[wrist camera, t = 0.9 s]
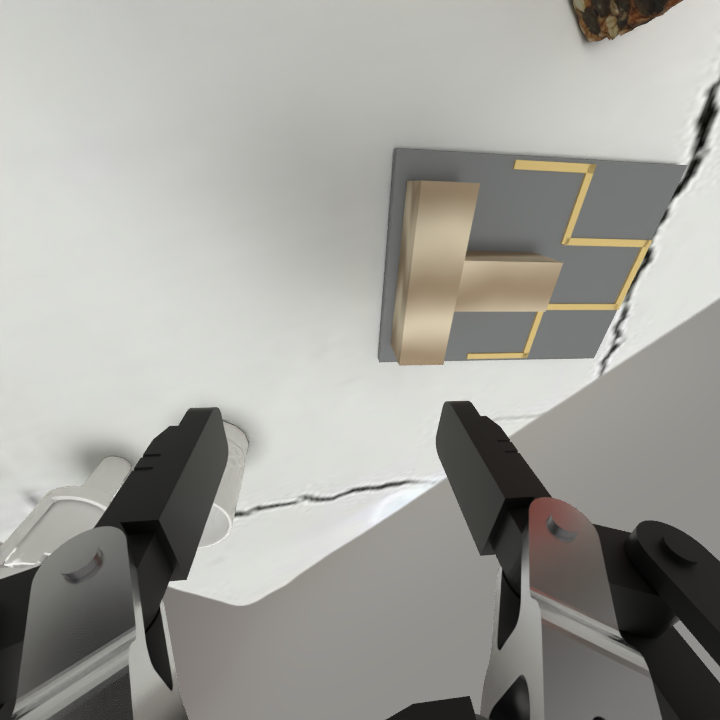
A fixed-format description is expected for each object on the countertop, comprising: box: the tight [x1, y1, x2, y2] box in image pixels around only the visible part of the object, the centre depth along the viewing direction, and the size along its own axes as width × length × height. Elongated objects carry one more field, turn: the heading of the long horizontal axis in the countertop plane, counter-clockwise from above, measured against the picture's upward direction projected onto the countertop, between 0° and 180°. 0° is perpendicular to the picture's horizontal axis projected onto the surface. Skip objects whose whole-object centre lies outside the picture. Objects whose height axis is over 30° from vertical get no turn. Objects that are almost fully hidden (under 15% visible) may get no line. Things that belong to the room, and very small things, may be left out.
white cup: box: [197, 422, 248, 549], centre depth 31 cm, size 8×8×10 cm
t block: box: [391, 180, 563, 365], centre depth 26 cm, size 14×12×4 cm
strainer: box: [0, 456, 131, 579], centre depth 29 cm, size 7×7×15 cm
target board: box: [378, 148, 687, 362], centre depth 28 cm, size 18×24×1 cm
